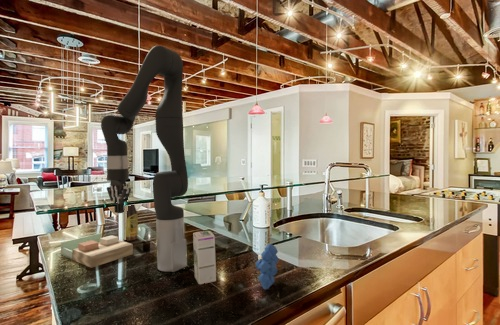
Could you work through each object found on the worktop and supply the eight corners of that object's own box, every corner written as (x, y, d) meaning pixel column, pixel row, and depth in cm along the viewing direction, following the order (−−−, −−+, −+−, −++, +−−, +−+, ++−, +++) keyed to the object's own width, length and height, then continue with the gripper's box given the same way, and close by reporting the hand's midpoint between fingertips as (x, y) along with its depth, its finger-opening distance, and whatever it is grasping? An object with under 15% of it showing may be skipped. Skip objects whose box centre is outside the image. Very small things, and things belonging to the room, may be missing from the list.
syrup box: (216, 281, 87) (215, 234, 86) (197, 285, 84) (196, 236, 84) (211, 274, 92) (210, 229, 91) (193, 277, 89) (192, 232, 89)
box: (113, 247, 120) (113, 236, 120) (72, 259, 107) (71, 246, 107) (101, 243, 125) (101, 232, 125) (61, 254, 112) (60, 242, 112)
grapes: (262, 275, 90) (261, 238, 90) (282, 278, 87) (282, 240, 87) (247, 292, 79) (247, 249, 79) (270, 296, 77) (269, 252, 76)
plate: (133, 254, 112) (132, 244, 112) (91, 267, 99) (90, 256, 99) (113, 247, 120) (113, 238, 120) (72, 259, 107) (72, 249, 107)
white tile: (118, 241, 115) (118, 237, 115) (106, 245, 111) (106, 240, 111) (111, 240, 118) (111, 235, 118) (99, 243, 113) (99, 238, 113)
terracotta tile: (98, 247, 108) (98, 242, 108) (84, 251, 104) (84, 245, 104) (92, 245, 111) (91, 240, 111) (78, 248, 107) (78, 243, 107)
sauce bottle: (132, 241, 128) (131, 198, 127) (120, 241, 129) (118, 197, 128) (140, 237, 134) (139, 195, 134) (129, 237, 135) (127, 195, 135)
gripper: (137, 167, 108) (138, 212, 108) (117, 167, 116) (118, 209, 116) (118, 168, 102) (119, 216, 102) (98, 168, 109) (100, 212, 110)
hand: (119, 212), depth 109 cm, fingers closed
